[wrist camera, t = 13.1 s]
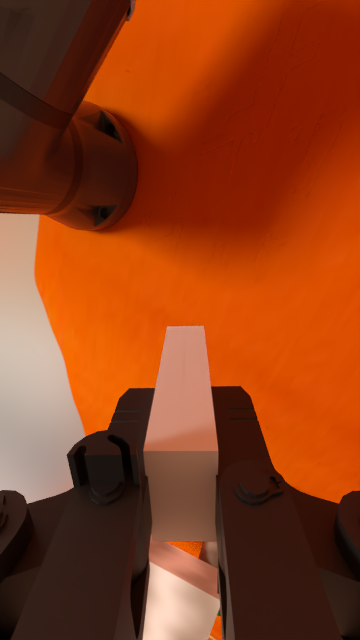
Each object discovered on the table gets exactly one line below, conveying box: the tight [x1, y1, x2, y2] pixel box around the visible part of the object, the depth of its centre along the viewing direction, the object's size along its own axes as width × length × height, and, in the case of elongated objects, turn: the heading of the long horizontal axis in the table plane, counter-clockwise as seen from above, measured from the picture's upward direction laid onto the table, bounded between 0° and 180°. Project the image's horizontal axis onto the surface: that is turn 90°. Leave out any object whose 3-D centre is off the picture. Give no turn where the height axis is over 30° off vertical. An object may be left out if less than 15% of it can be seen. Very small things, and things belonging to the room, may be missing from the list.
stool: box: [143, 534, 220, 640], centre depth 42 cm, size 18×18×18 cm
